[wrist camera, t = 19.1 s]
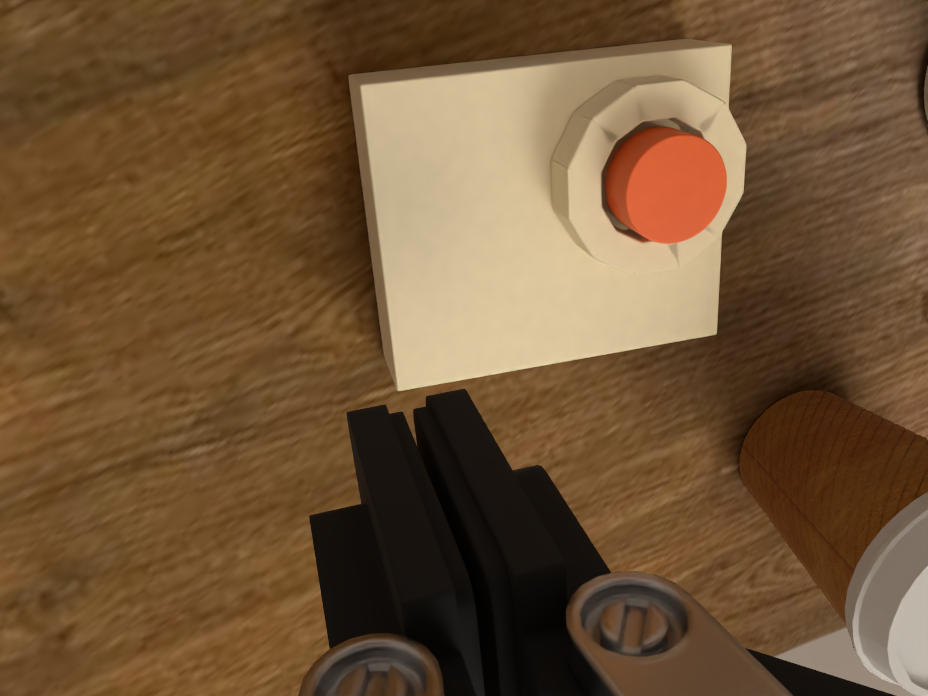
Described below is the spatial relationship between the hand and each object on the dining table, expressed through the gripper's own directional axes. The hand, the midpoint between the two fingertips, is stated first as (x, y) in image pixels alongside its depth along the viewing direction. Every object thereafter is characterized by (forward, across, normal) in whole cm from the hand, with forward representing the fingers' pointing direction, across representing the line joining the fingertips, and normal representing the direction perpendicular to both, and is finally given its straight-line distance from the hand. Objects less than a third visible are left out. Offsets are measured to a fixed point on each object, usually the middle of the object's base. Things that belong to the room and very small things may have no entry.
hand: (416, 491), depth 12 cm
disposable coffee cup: (+21, -22, +16) cm, 34 cm away
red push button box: (+21, -9, +2) cm, 23 cm away
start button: (+16, -12, +1) cm, 20 cm away
